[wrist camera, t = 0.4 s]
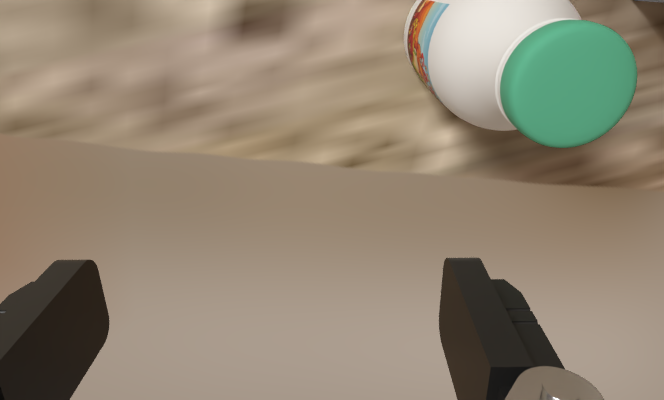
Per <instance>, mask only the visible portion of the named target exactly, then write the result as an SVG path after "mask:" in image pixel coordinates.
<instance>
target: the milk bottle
mask: <svg viewBox="0 0 664 400" xmlns="http://www.w3.org/2000/svg"><path fill="white" fill-rule="evenodd" d="M404 47H405V52H406V55H407V58H408V61H409V63H410V65H411V66H412V68H413V70H414V71H415V72H416V74H417V75H418V76H419V78H420V79H421V80H422V81H423V82H424V84H425V85H426V86H427V87H428V88H429V89H430V91H431V92H432V93H433V94H434V95H435V96H436V97H437V98H438V99H439V100H440V102H441V103H442V104H443V105H445V106H446V107H447V108H448V109H449V110H450V111H451V112H452V113H454V114H455V115H456V116H458V117H459V118H461V119H463V120H464V121H466V122H468V123H470V124H473V125H475V126H478V127H481V128H485V129H490V130H498V131H509V130H519V131H520V132H521V133H522V134H523V135H525V136H526V137H528V138H529V139H531V140H533V141H534V142H536V143H539V144H541V145H545V146H549V147H557V148H569V147H576V146H580V145H584V144H586V143H589V142H591V141H594V140H595V139H597V138H599V137H601V136H602V135H604V134H605V133H606V132H608V131H609V130H610V129H611V128H612V127H614V126H615V125H616V124H617V122H618V121H619V120H620V119H621V118H622V116H623V115H624V114H625V112H626V111H627V109H628V107H629V105H630V103H631V101H632V99H633V96H634V93H635V89H636V83H637V67H636V61H635V58H634V55H633V53H632V51H631V49H630V47H629V46H628V44H627V43H626V42H625V41H624V39H623V38H622V37H621V36H620V35H619V34H617V33H616V32H615V31H613V30H612V29H610V28H608V27H606V26H604V25H601V24H598V23H594V22H590V21H585V20H582V19H581V17H580V15H579V14H578V12H577V10H576V9H575V7H574V6H573V5H572V3H571V2H570V1H569V0H416V2H415V3H414V5H413V7H412V8H411V10H410V12H409V15H408V17H407V20H406V24H405V29H404Z"/></svg>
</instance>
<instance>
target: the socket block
mask: <svg viewBox="0 0 664 400" xmlns="http://www.w3.org/2000/svg"><path fill="white" fill-rule="evenodd" d="M636 1H649V2H663V3H664V0H636Z"/></svg>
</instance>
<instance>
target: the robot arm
mask: <svg viewBox="0 0 664 400" xmlns="http://www.w3.org/2000/svg"><path fill="white" fill-rule="evenodd" d="M108 330H109V315H108V310H107V306H106V302H105V297H104V293H103V289H102V284H101V280H100V276H99V271H98V268H97V265H96V264H95V262H94V261H92V260H57V261H55V262H54V263H52V264H51V266H49V268H48V269H47V270H46V271H45V272H44V273H43V274H42V275H41V276H40V277H39V278H38V279H37V280H36V281H35V282H30V283H29V284H27V285H25V286H24V287H22V288H20V289H19V290H17V291H15V292H14V293H12V294H10V295H9V296H8V297H7V298H6V299H5V300H4V301H3V302H2V303H1V304H0V400H70V398H71V396H72V395H73V393H74V391H75V390H76V388H77V387H78V385H79V384H80V382H81V380H82V379H83V377H84V375H85V374H86V372H87V371H88V369H89V367H90V366H91V364H92V363H93V361H94V359H95V358H96V356H97V354H98V353H99V351H100V350H101V348H102V347H103V345H104V343H105V341H106V339H107V335H108ZM439 330H440V337H441V343H442V346H443V350H444V353H445V357H446V360H447V364H448V368H449V371H450V375H451V378H452V382H453V385H454V389H455V392H456V396H457V399H458V400H604V398H603V397H602V395H601V393H600V392H599V391H598V390H597V388H596V387H594V386H593V385H592V384H591V383H590V382H589V381H587V380H586V379H584V378H583V377H581V376H579V375H577V374H575V373H573V372H571V371H568V370H565V368H564V366H563V365H562V363H561V361H560V359H559V358H558V356H557V354H556V352H555V351H554V349H553V347H552V345H551V344H550V342H549V340H548V338H547V337H546V335H545V333H544V332H543V330H542V328H541V326H540V325H538V323H537V319H536V318H535V316H534V314H533V312H532V311H530V307H529V305H528V304H527V302H526V300H525V298H524V297H523V295H522V294H521V292H519V291H518V290H517V289H516V288H514V287H513V286H512V285H510V284H509V283H508V282H507V281H505V280H504V279H503V280H502V279H501V280H500V279H499V280H498V279H495V280H491V279H490V277H489V275H488V273H487V271H486V269H485V267H484V265H483V263H482V261H481V259H480V258H446V259H445V261H444V267H443V278H442V289H441V300H440V312H439Z"/></svg>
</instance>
